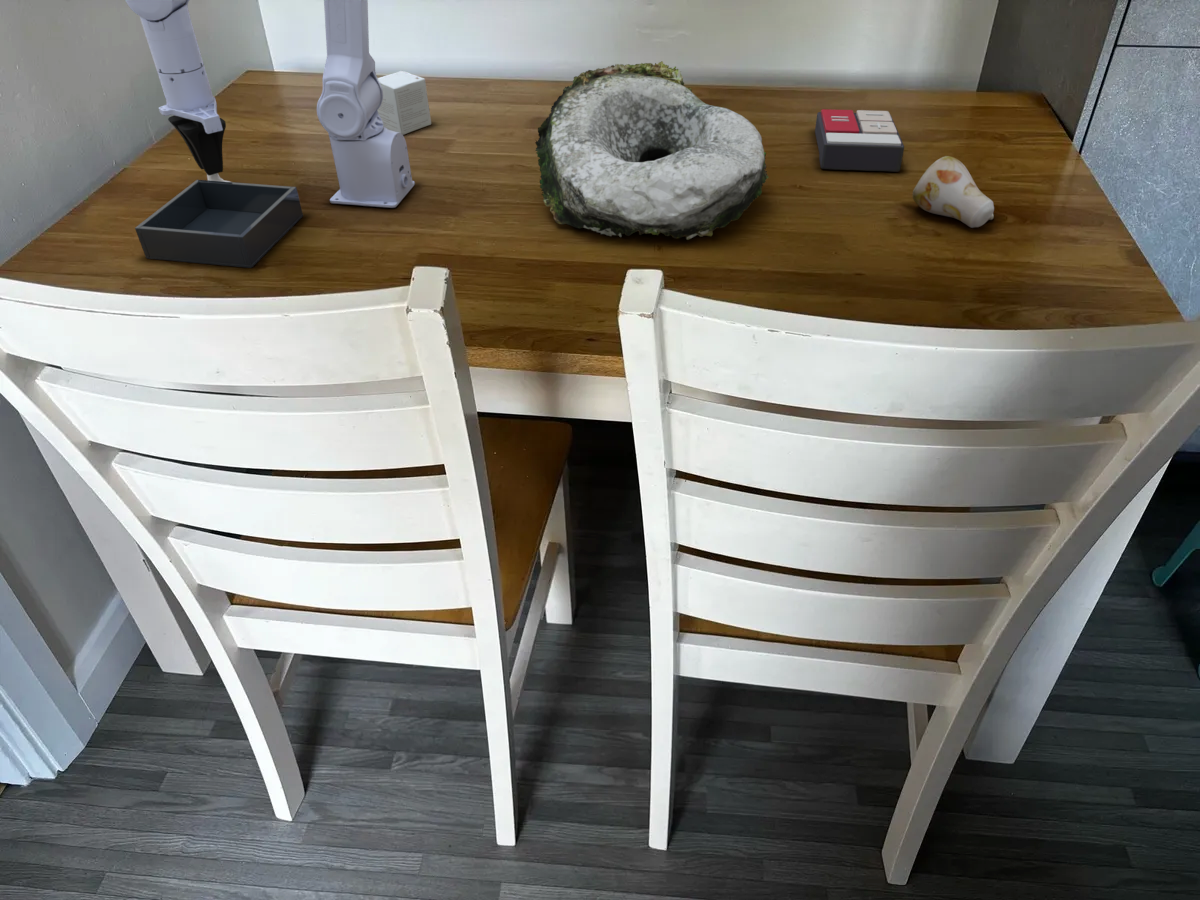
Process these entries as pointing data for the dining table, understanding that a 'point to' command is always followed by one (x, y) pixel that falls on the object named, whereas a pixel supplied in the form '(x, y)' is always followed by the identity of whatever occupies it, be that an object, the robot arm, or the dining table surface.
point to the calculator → (858, 140)
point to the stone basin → (646, 155)
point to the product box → (404, 102)
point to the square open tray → (220, 223)
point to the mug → (952, 193)
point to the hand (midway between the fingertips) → (211, 169)
